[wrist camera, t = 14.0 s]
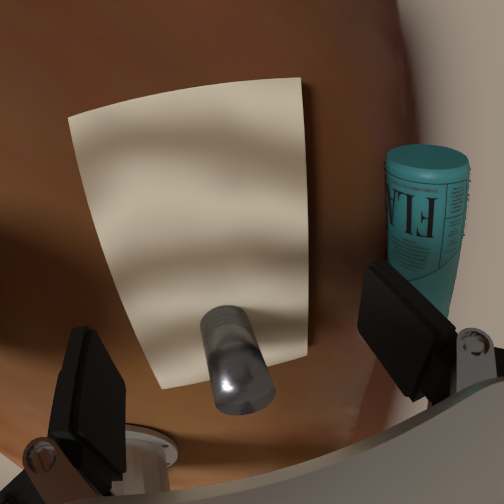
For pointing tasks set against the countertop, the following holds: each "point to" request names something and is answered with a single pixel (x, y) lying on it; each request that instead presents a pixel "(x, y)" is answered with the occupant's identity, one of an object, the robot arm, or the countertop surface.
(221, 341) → the cylinder
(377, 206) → the countertop surface
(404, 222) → the beverage bottle
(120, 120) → the cream rippled cloth
